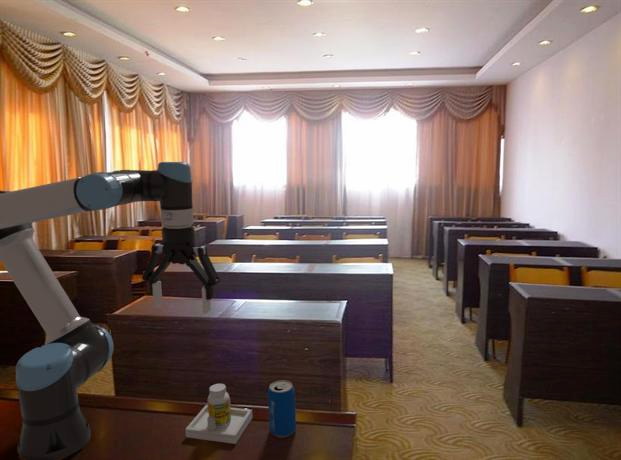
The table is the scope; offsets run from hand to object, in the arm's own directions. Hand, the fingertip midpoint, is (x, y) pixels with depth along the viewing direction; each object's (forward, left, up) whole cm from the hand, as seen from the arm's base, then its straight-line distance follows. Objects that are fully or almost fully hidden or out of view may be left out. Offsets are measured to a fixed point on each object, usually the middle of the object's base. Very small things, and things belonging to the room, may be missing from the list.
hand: (182, 309), depth 114 cm
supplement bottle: (+10, -2, -29) cm, 30 cm away
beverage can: (+26, -1, -30) cm, 39 cm away
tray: (+10, -2, -30) cm, 31 cm away
